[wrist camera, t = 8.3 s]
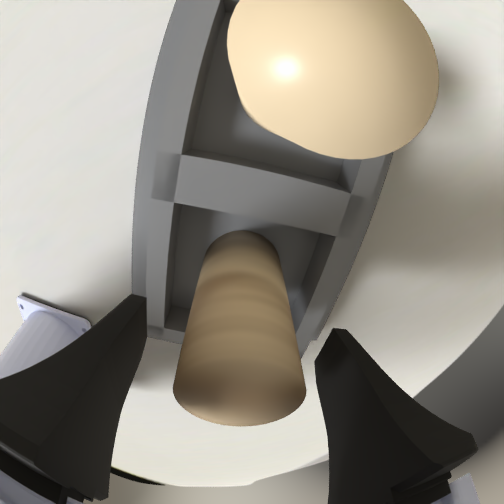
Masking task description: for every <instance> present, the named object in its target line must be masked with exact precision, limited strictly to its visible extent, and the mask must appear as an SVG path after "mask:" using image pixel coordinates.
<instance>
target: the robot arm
mask: <svg viewBox="0 0 504 504" xmlns="http://www.w3.org/2000/svg"><path fill="white" fill-rule="evenodd" d="M17 303H18V306H19V309H20V312H21V315H22V318H23V320H24V323H23V324H22V325H21V327H20V328H19V329H18V331H17V332H16V333H15V335H14V336H13V337H12V339H11V340H10V342H9V343H8V344H7V346H6V347H5V349H4V350H3V352H2V353H1V355H0V504H84V503H83V500H84V499H86V500H89V501H91V502H92V501H93V498H94V499H97V500H100V501H101V500H103V499H106V498H108V492H109V491H108V490H109V478H110V469H111V461H112V454H113V448H114V442H115V437H116V432H117V427H118V423H119V418H120V414H121V411H122V407H123V404H124V401H125V399H126V396H127V393H128V391H129V388H130V386H131V383H132V381H133V378H134V375H135V373H136V370H137V368H138V365H139V363H140V360H141V357H142V354H143V350H144V346H145V343H146V339H147V297H143V296H139V295H134V294H131V295H129V296H128V297H127V298H126V299H124V300H123V301H122V302H121V303H120V304H119V305H118V306H117V307H115V308H114V309H113V310H112V311H111V312H110V313H109V314H107V315H106V316H105V317H104V318H103V319H101V320H100V321H99V322H98V323H97V324H95V325H94V326H93V327H92V328H91V325H90V322H89V321H88V320H87V319H85V318H81V317H78V316H75V315H72V314H69V313H66V312H64V311H61V310H58V309H55V308H52V307H50V306H47V305H44V304H42V303H39V302H36V301H34V300H31V299H29V298H26V297H24V296H21V295H19V296H18V297H17ZM314 362H315V375H316V384H317V389H318V394H319V398H320V403H321V407H322V411H323V416H324V420H325V425H326V430H327V436H328V448H329V473H330V474H329V497H328V504H480V502H479V499H478V496H477V492H476V489H475V486H474V483H473V480H472V477H471V475H470V473H467V474H466V475H464V476H462V477H461V478H459V479H457V480H455V481H453V482H452V483H450V484H448V481H447V480H448V479H450V478H451V473H450V471H451V470H452V469H454V468H455V467H457V466H459V465H460V464H462V463H463V462H465V461H466V460H467V459H469V458H470V457H471V456H473V455H474V454H475V453H476V452H477V450H478V447H477V444H476V442H475V440H474V438H473V436H472V434H471V433H468V432H466V431H464V430H461V429H459V428H457V427H455V426H453V425H451V424H449V423H447V422H446V421H444V420H442V419H440V418H439V417H437V416H436V415H434V414H432V413H431V412H430V411H428V410H427V409H425V408H424V407H423V406H421V405H420V404H419V403H417V402H416V401H415V400H414V399H413V398H411V397H410V396H409V395H408V394H407V393H406V392H404V391H403V390H402V389H401V388H400V387H399V386H398V385H397V384H396V383H395V382H394V381H393V380H392V379H391V378H390V377H389V376H388V375H387V374H386V373H385V372H384V371H383V370H382V369H381V368H380V366H379V365H378V364H377V363H376V362H375V361H374V360H373V359H372V358H371V356H370V355H369V354H368V353H367V352H366V351H365V349H364V348H363V347H362V346H361V345H360V344H359V343H358V342H357V340H356V339H355V338H354V337H353V336H352V335H351V334H350V333H349V332H348V331H347V330H346V329H337V328H333V329H332V331H331V333H330V335H329V337H328V338H327V340H326V342H325V344H324V346H323V347H322V349H321V351H320V353H319V354H318V356H317V358H316V360H315V361H314Z"/></svg>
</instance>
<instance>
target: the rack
mask: <svg viewBox="0 0 504 504" xmlns="http://www.w3.org/2000/svg"><path fill="white" fill-rule="evenodd" d="M438 88H439V70H438V63H437V58H436V54H435V50H434V47H433V45H432V42H431V40H430V37H429V35H428V33H427V31H426V30H425V28H424V26H423V24H422V23H421V21H420V20H419V18H418V17H417V16H416V14H415V13H414V12H413V11H412V9H411V8H410V7H409V6H408V5H407V4H406V3H405V2H404V1H403V0H176V2H175V5H174V8H173V11H172V14H171V17H170V20H169V23H168V26H167V29H166V32H165V35H164V39H163V42H162V45H161V49H160V52H159V56H158V60H157V64H156V68H155V72H154V76H153V80H152V85H151V89H150V94H149V98H148V103H147V109H146V114H145V119H144V125H143V131H142V138H141V144H140V152H139V159H138V167H137V176H136V187H135V198H134V212H133V231H132V294H134V295H139V296H143V297H147V337H151V338H155V339H160V340H164V341H169V342H173V343H178V344H183V339H184V335H185V331H186V327H187V323H188V319H189V314H190V310H191V306H192V302H193V299H194V295H195V291H196V287H197V283H198V279H199V276H200V272H201V268H202V264H203V261H204V257H205V254H206V251H207V249H208V248H209V246H210V245H211V244H212V242H213V241H214V240H216V239H217V238H218V237H220V236H222V235H224V234H226V233H229V232H233V231H251V232H255V233H257V234H260V235H262V236H263V237H265V238H266V239H268V240H269V241H270V242H271V243H272V244H273V245H274V247H275V248H276V250H277V252H278V255H279V259H280V263H281V268H282V273H283V277H284V282H285V286H286V291H287V296H288V300H289V305H290V310H291V315H292V320H293V325H294V329H295V334H296V339H297V344H298V349H299V355H300V360H301V358H302V356H303V354H304V352H305V351H306V349H307V347H308V345H309V343H310V341H311V340H317V338H318V336H319V335H320V333H321V331H322V329H323V327H324V325H325V323H326V321H327V319H328V317H329V315H330V313H331V311H332V309H333V307H334V304H335V302H336V300H337V298H338V296H339V294H340V292H341V290H342V287H343V285H344V283H345V281H346V279H347V276H348V274H349V272H350V269H351V267H352V265H353V263H354V260H355V258H356V255H357V253H358V251H359V248H360V246H361V243H362V241H363V238H364V236H365V233H366V231H367V228H368V226H369V223H370V220H371V218H372V215H373V212H374V210H375V207H376V204H377V201H378V198H379V195H380V193H381V190H382V187H383V184H384V181H385V178H386V175H387V171H388V168H389V165H390V162H391V159H392V155H393V152H394V151H396V150H398V149H400V148H401V147H403V146H404V145H406V144H407V143H409V142H410V141H411V140H412V139H413V138H415V137H416V136H417V135H418V134H419V132H420V131H421V130H422V129H423V128H424V126H425V125H426V123H427V122H428V120H429V118H430V116H431V114H432V112H433V109H434V107H435V104H436V100H437V96H438Z"/></svg>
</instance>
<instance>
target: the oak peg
mask: <svg viewBox="0 0 504 504" xmlns="http://www.w3.org/2000/svg"><path fill="white" fill-rule="evenodd" d="M173 393H174V396H175V398H176V400H177V402H178V403H179V404H180V405H181V406H182V407H183V408H184V409H185V410H186V411H188V412H189V413H191V414H193V415H194V416H196V417H198V418H201V419H203V420H206V421H209V422H212V423H216V424H221V425H228V426H255V425H262V424H267V423H270V422H274V421H277V420H279V419H282V418H284V417H286V416H288V415H290V414H291V413H292V412H294V411H295V410H296V409H297V408H299V406H300V405H301V404H302V403H303V401H304V399H305V396H306V386H305V381H304V375H303V370H302V365H301V360H300V355H299V349H298V344H297V339H296V334H295V329H294V325H293V320H292V315H291V310H290V305H289V300H288V296H287V291H286V286H285V282H284V277H283V273H282V268H281V263H280V259H279V255H278V252H277V250H276V248H275V247H274V245H273V244H272V243H271V242H270V241H269V240H268V239H266V238H265V237H263V236H262V235H260V234H257V233H255V232H251V231H233V232H229V233H226V234H224V235H222V236H220V237H218V238H217V239H216V240H214V241H213V242H212V244H211V245H210V246H209V248H208V249H207V251H206V254H205V257H204V261H203V264H202V268H201V272H200V276H199V279H198V283H197V287H196V291H195V295H194V299H193V302H192V306H191V310H190V314H189V319H188V323H187V327H186V331H185V335H184V339H183V344H182V348H181V352H180V357H179V361H178V366H177V370H176V375H175V380H174V384H173Z"/></svg>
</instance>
